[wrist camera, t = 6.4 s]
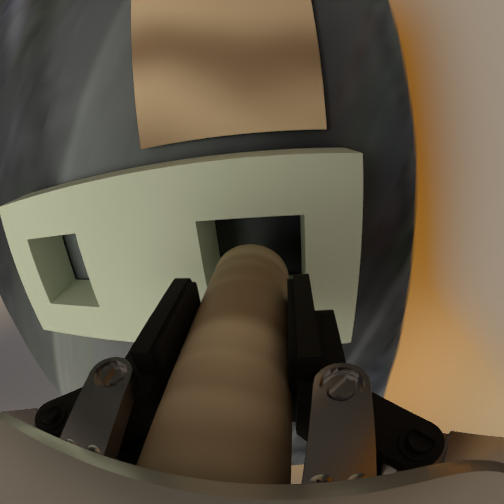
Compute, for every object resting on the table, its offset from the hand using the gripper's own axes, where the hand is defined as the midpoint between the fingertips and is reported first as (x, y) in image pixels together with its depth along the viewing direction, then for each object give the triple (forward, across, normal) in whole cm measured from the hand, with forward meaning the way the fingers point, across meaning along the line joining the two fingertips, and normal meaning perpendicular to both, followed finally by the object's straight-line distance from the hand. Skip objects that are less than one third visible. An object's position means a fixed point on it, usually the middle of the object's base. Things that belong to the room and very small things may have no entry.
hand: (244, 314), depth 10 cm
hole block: (+7, +6, 0) cm, 9 cm away
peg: (+3, 0, 0) cm, 3 cm away
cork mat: (+7, +1, -11) cm, 13 cm away
